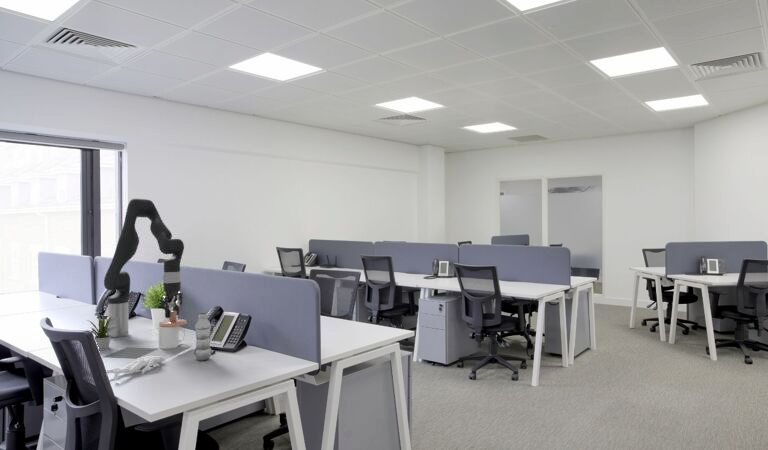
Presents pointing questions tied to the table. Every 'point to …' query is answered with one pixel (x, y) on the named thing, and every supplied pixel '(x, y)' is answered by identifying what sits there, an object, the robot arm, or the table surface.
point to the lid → (173, 321)
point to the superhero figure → (137, 365)
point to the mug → (169, 337)
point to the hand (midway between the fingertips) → (172, 316)
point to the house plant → (102, 333)
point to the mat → (131, 352)
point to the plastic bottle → (202, 337)
